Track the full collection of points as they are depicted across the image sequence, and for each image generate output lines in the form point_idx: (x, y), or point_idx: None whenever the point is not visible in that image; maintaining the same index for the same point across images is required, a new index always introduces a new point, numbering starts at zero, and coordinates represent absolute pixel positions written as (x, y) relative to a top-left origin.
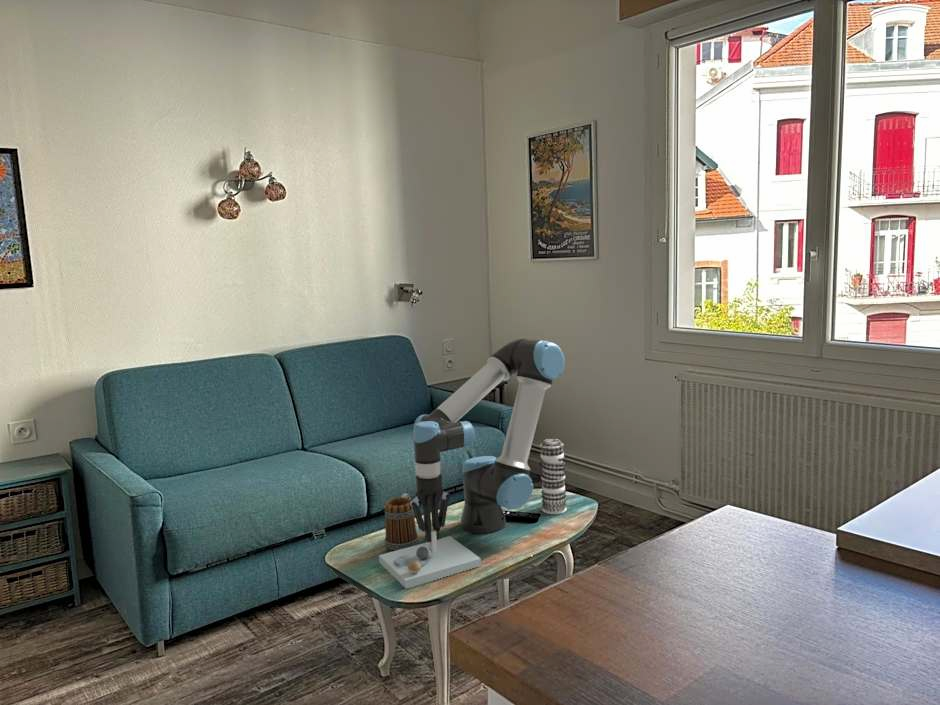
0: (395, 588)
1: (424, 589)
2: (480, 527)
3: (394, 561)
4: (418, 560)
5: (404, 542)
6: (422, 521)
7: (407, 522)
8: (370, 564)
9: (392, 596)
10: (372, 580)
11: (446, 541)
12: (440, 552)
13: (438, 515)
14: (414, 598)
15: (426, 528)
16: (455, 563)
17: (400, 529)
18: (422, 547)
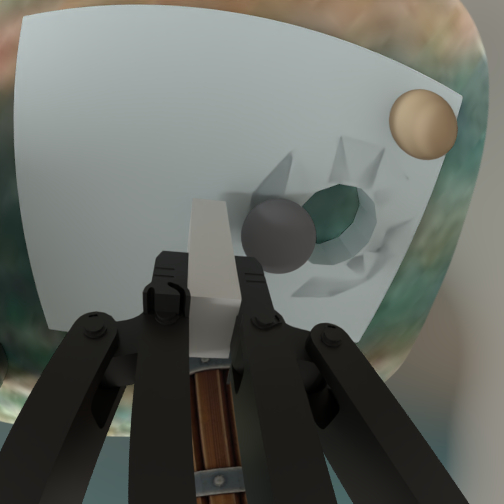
0: None
1: (399, 22)
2: None
3: (369, 275)
4: None
5: None
6: (373, 415)
7: (228, 446)
8: (368, 326)
9: (484, 93)
10: (443, 234)
11: (74, 301)
12: (151, 221)
13: (130, 455)
14: (455, 14)
15: (291, 348)
16: (167, 33)
17: None
18: (288, 252)
